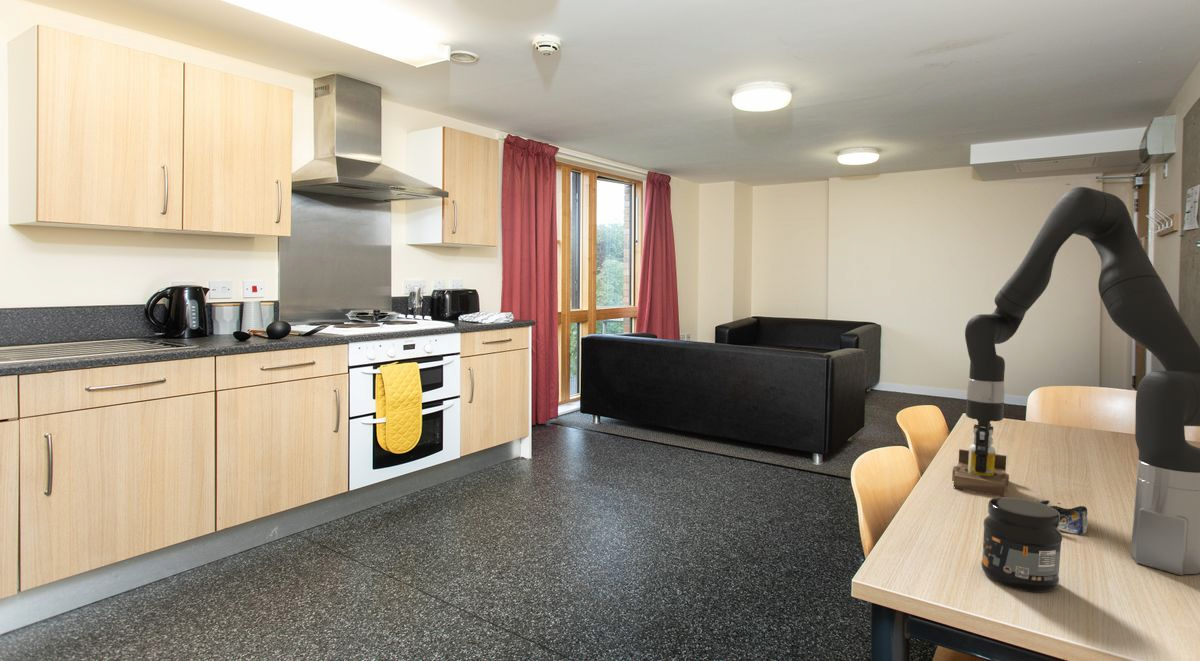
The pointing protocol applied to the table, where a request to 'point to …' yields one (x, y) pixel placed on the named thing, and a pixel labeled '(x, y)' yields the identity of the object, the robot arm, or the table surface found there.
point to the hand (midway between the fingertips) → (981, 468)
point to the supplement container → (1022, 544)
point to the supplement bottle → (989, 460)
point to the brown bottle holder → (981, 483)
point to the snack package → (1071, 518)
